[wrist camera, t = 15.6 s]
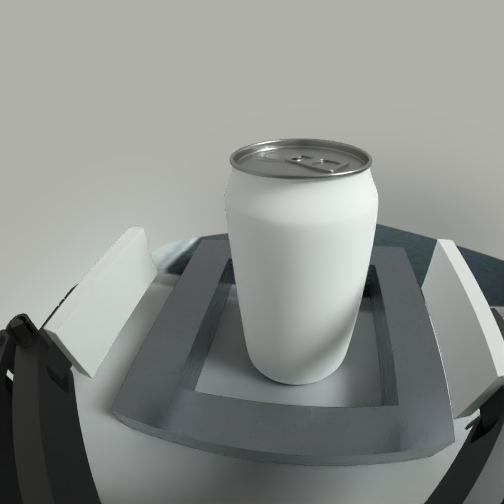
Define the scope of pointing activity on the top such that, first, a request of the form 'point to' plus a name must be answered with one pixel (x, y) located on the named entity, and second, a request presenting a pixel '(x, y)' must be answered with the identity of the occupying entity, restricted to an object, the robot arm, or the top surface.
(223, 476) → the top surface
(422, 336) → the jig
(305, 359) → the can
